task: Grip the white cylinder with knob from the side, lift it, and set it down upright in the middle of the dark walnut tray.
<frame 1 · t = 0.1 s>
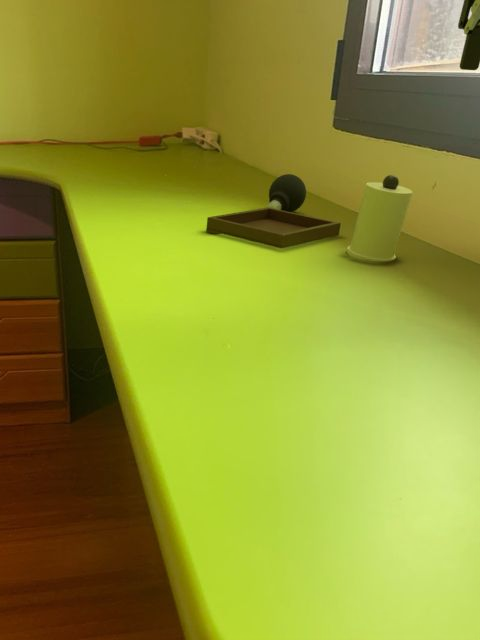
light bulb: (283, 214, 121), on the table
tray: (272, 234, 105), on the table
white cylinder with knob: (370, 256, 95), on the table
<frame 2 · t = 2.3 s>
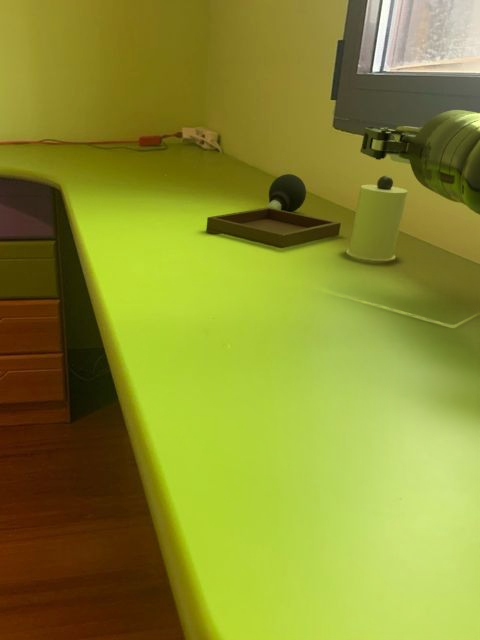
hand: (416, 140, 78), 16 cm above the table, tool horizontal, fingers open, 8 cm apart
nothing on the table moved.
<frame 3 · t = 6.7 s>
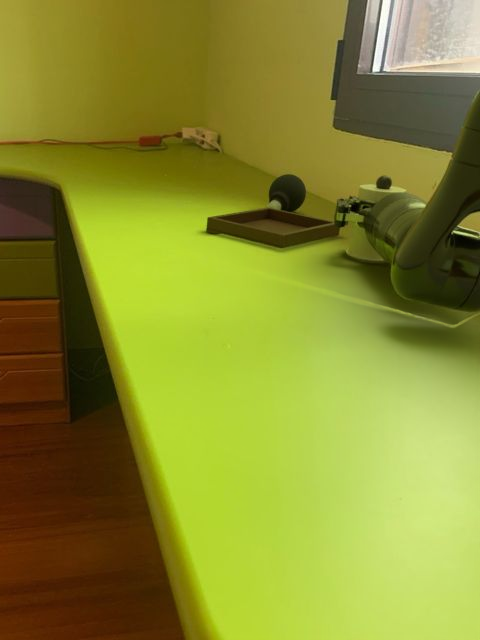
hand: (374, 205, 94), 7 cm above the table, tool horizontal, fingers closed on white cylinder with knob, 6 cm apart
white cylinder with knob: (369, 257, 95), on the table, touching gripper
everything else where it was.
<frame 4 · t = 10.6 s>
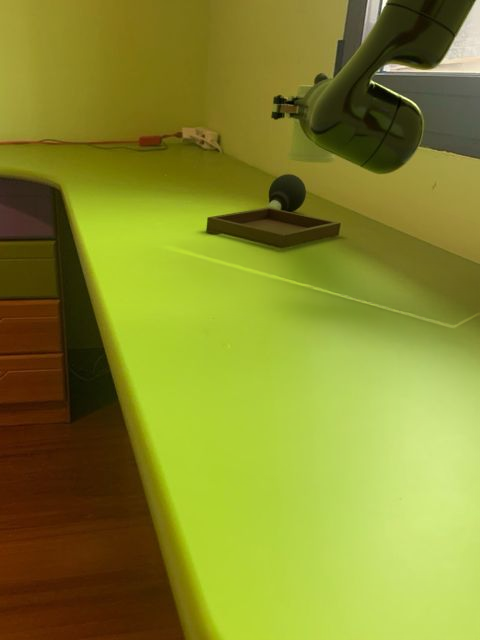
hand: (314, 107, 96), 18 cm above the table, tool horizontal, fingers closed on white cylinder with knob, 6 cm apart
white cylinder with knob: (310, 159, 96), point 11 cm above the table, touching gripper
everything else where it was.
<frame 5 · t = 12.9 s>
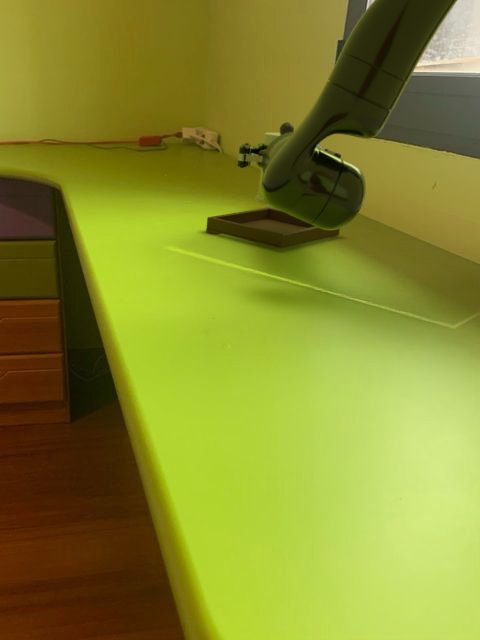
hand: (281, 152, 101), 11 cm above the table, tool horizontal, fingers closed on white cylinder with knob, 6 cm apart
white cylinder with knob: (277, 201, 102), point 5 cm above the table, touching gripper
everything else where it was.
when the fingers open (7 cm above the table, at t = 14.7 s): white cylinder with knob stays where it is, resting on tray.
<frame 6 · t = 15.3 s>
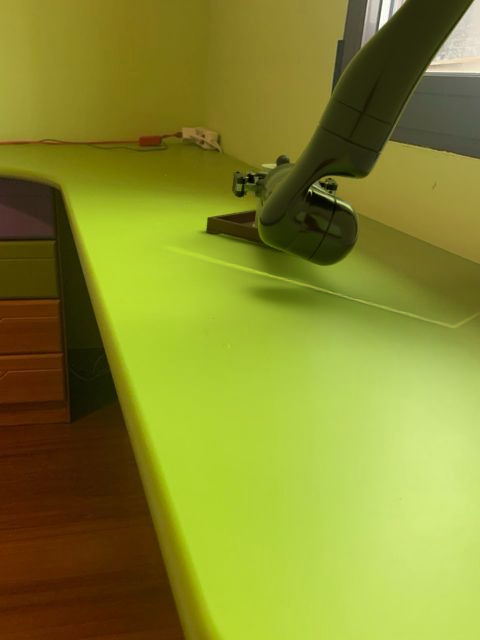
hand: (279, 179, 103), 8 cm above the table, tool horizontal, fingers open, 8 cm apart
white cylinder with knob: (273, 231, 104), point 1 cm above the table, touching tray
everything else where it was.
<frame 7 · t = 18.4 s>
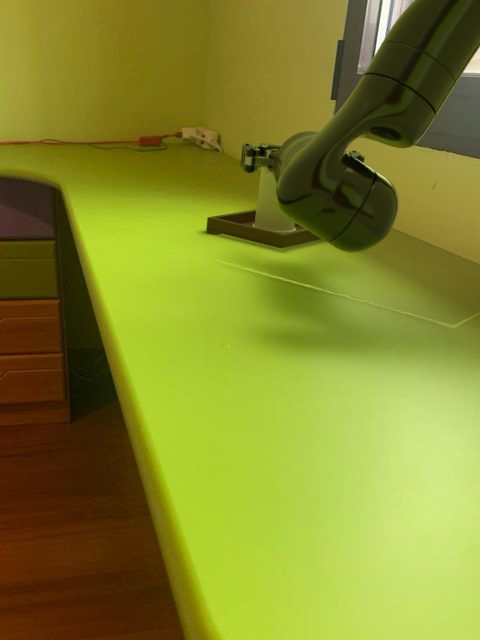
hand: (294, 154, 89), 13 cm above the table, tool horizontal, fingers open, 8 cm apart
nothing on the table moved.
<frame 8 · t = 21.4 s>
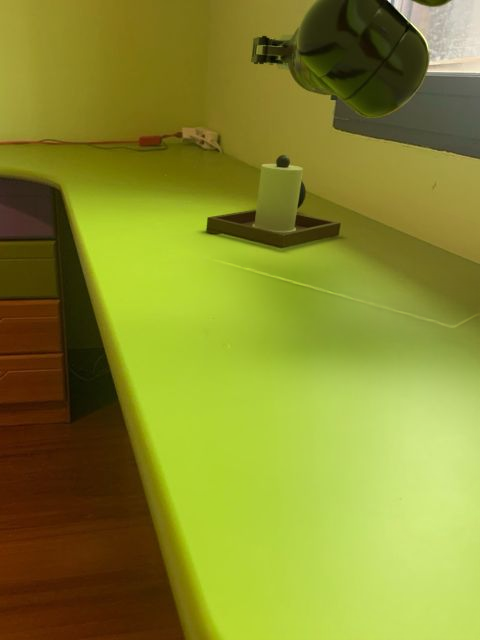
hand: (308, 55, 84), 24 cm above the table, tool horizontal, fingers open, 8 cm apart
nothing on the table moved.
at the end: white cylinder with knob inside the target area in the tray (0.1 cm from its centre), point 0.6 cm above the tray's base; white cylinder with knob tilted 0°; the gripper is holding nothing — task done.
